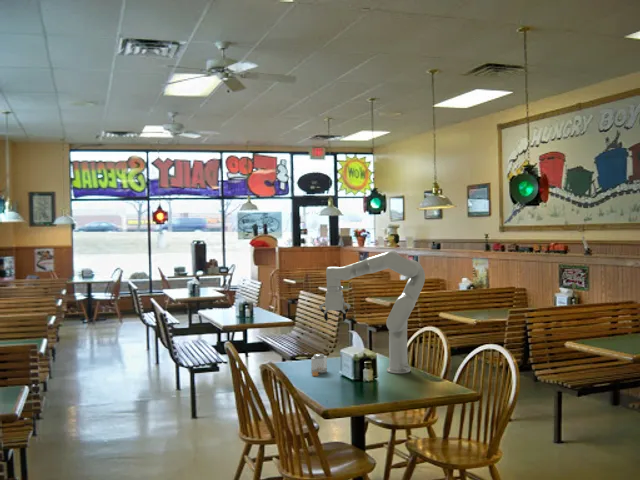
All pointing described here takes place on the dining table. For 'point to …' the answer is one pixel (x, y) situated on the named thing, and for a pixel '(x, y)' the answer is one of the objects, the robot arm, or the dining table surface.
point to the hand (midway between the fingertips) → (335, 320)
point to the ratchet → (318, 372)
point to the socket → (318, 362)
